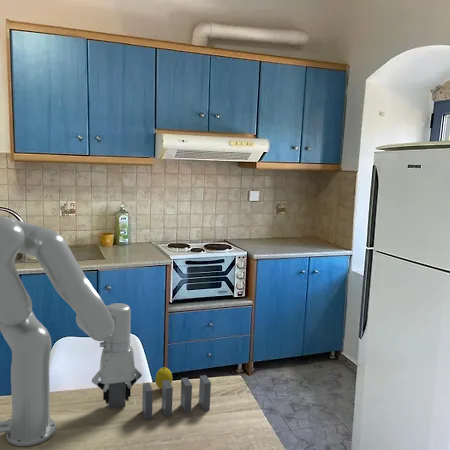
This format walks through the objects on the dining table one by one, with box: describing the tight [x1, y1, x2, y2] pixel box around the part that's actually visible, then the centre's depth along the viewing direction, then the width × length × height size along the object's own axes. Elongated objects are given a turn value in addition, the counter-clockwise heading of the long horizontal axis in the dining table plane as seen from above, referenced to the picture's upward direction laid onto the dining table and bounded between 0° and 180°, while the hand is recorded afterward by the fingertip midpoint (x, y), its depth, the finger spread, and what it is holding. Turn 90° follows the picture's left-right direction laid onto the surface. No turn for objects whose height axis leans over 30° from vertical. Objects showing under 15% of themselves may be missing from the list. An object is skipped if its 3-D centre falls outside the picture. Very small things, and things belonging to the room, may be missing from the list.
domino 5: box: [198, 374, 212, 412], centre depth 142 cm, size 2×5×9 cm, turn 21°
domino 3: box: [161, 380, 174, 418], centre depth 138 cm, size 2×5×9 cm, turn 20°
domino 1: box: [107, 382, 127, 410], centre depth 140 cm, size 2×5×9 cm, turn 111°
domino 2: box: [141, 382, 154, 421], centre depth 136 cm, size 2×5×9 cm, turn 20°
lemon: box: [155, 366, 173, 390], centre depth 151 cm, size 6×6×8 cm
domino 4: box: [180, 377, 193, 415], centre depth 140 cm, size 2×5×9 cm, turn 20°
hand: (116, 399), depth 140 cm, fingers open, 5 cm apart
